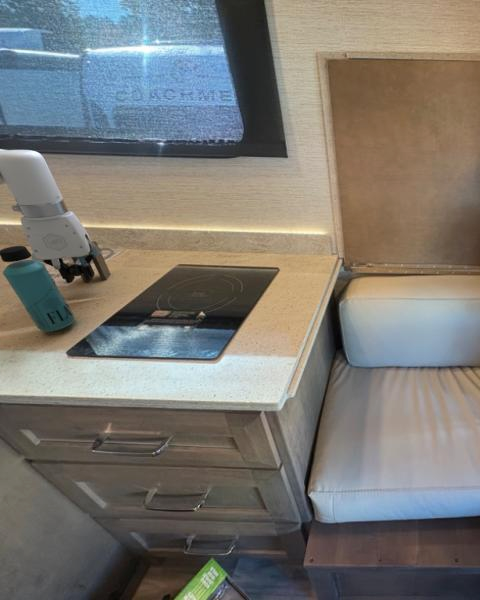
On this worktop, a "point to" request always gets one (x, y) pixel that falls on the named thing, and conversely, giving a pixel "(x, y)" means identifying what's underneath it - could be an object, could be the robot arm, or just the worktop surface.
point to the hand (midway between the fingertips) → (80, 279)
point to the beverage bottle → (36, 290)
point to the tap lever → (75, 269)
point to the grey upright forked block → (97, 266)
